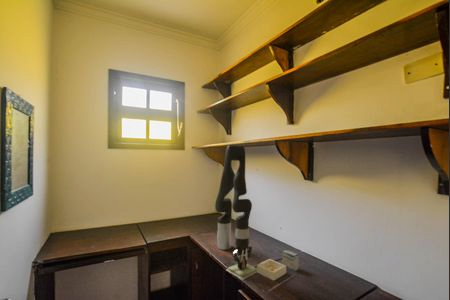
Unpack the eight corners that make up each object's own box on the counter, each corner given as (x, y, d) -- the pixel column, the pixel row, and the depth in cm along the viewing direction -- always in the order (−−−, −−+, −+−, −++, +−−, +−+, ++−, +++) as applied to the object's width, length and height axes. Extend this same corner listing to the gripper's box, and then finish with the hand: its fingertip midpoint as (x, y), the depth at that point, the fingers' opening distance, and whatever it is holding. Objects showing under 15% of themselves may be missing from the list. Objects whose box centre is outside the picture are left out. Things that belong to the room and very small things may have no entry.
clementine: (267, 272, 124) (267, 266, 124) (271, 270, 126) (271, 264, 126) (272, 274, 122) (272, 268, 122) (275, 272, 124) (275, 266, 124)
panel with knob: (225, 270, 127) (225, 269, 127) (242, 263, 135) (242, 262, 135) (242, 280, 117) (242, 279, 117) (259, 272, 126) (259, 270, 126)
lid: (228, 269, 127) (228, 259, 127) (242, 263, 134) (242, 253, 134) (242, 277, 119) (242, 266, 119) (256, 270, 126) (256, 260, 126)
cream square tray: (256, 273, 124) (256, 264, 124) (269, 266, 132) (269, 258, 132) (273, 281, 116) (273, 272, 116) (286, 274, 123) (286, 265, 123)
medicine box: (281, 266, 131) (281, 251, 131) (286, 264, 134) (286, 249, 135) (294, 272, 126) (294, 255, 126) (298, 269, 129) (298, 253, 129)
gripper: (246, 231, 134) (246, 261, 134) (228, 237, 125) (228, 269, 125) (255, 234, 128) (256, 265, 128) (237, 241, 119) (237, 274, 119)
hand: (242, 267), depth 126 cm, fingers closed on lid, 3 cm apart
